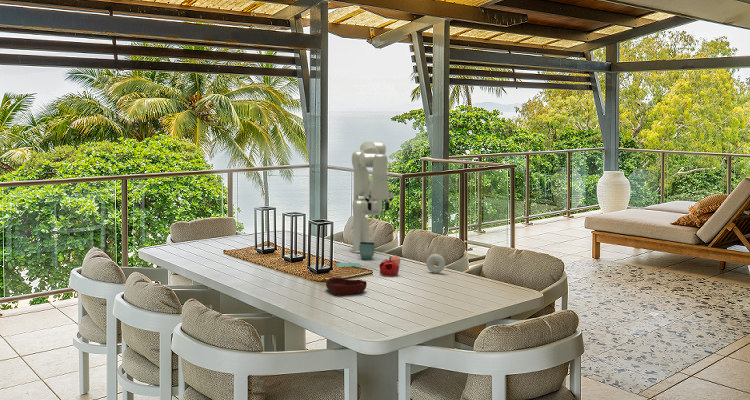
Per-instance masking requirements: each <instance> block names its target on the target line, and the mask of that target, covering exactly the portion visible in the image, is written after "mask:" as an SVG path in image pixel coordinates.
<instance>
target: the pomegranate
mask: <svg viewBox="0 0 750 400" xmlns="http://www.w3.org/2000/svg"><path fill="white" fill-rule="evenodd" d="M391 257H392V256H389V257H388V259H386V258H385V259H382V261H381V263H380V264H378V265H379V273H380V274H381V275H382V276H386V277H395V276H398V274H399V272H400V267H399V265H397V264H396V263H395V262H393V261H394V260H392V261H391ZM395 261H397V260H395Z"/></svg>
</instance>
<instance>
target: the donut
mask: <svg viewBox="0 0 750 400" xmlns="http://www.w3.org/2000/svg"><path fill="white" fill-rule="evenodd" d="M434 261H436V262H437V263H438V265H437V266H436V265H435V266H434ZM425 264H426V267H427V269H428V271H429V272H431V273H433V274H439V273H441V272H442V271H444V269H445V268H446V260H445V258H444V257H443V256H442V255H441V254H438V253H432V254H430V255H429V256H428V257H427V259H426V261H425Z"/></svg>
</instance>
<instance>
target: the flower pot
mask: <svg viewBox="0 0 750 400" xmlns="http://www.w3.org/2000/svg"><path fill="white" fill-rule="evenodd" d="M359 249H360V253H359V255H360V258H361V260H367V261H368V260H369V261H370V260H372V258H374V254H375V249H376V241H375V242H373V241H372V242H371V241H369V242H360V244H359Z"/></svg>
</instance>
